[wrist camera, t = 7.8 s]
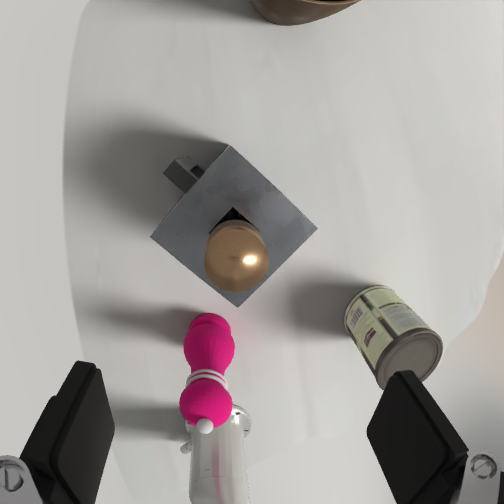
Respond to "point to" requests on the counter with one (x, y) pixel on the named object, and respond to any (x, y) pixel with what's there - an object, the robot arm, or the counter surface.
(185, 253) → the press
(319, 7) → the plant pot
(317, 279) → the counter surface
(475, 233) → the counter surface
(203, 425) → the pepper mill
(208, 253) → the plunger
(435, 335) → the coffee can
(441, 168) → the counter surface
